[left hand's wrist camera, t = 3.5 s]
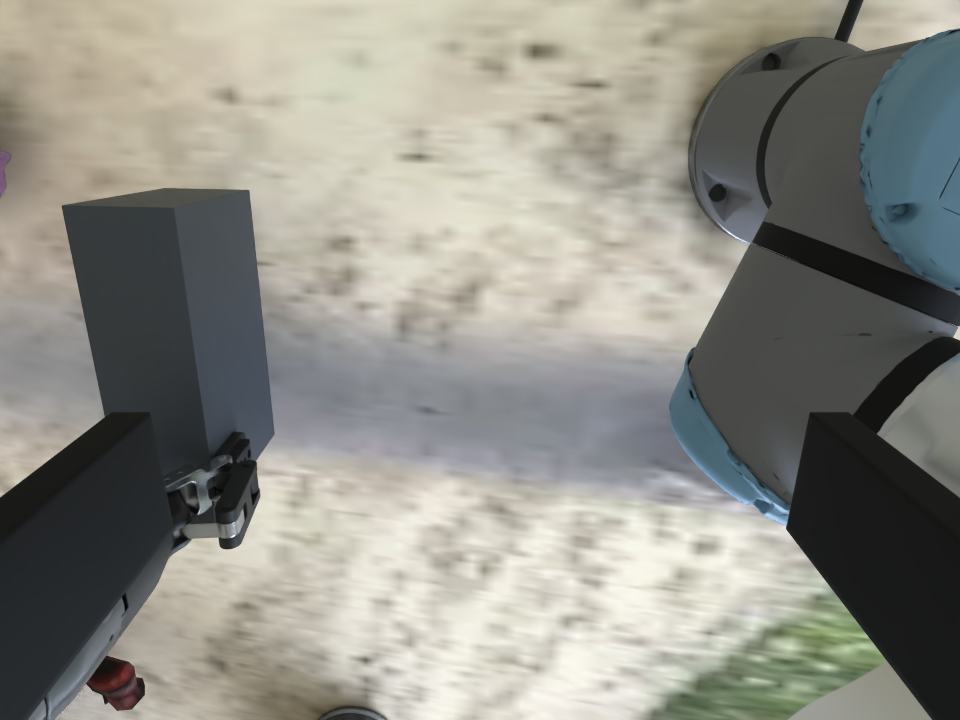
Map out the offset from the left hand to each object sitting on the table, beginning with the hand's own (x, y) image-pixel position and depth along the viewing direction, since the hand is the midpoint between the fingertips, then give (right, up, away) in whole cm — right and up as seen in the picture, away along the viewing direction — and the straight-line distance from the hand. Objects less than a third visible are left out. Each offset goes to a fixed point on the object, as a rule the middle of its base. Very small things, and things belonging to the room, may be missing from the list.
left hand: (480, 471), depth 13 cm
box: (-20, +5, +37) cm, 42 cm away
